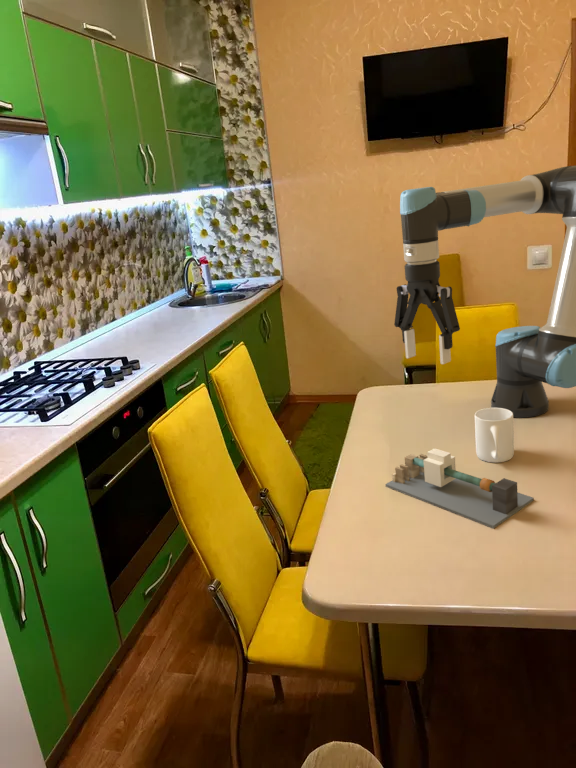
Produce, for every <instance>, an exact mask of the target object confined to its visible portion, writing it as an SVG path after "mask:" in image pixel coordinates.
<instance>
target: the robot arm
mask: <svg viewBox="0 0 576 768" xmlns="http://www.w3.org/2000/svg"><path fill="white" fill-rule="evenodd" d="M399 197H400V198H399V199H400V201H399V214H400V224H401V234H402V235H401V236H402V245H403V246H402V248H403V259H404V262H405V263H406V264H405V265H404V277H405V280H406V281H407V284H402V285H399V286H397V287H396V295H397V299H396V305H395V306H396V307H395V317H394V327H396V328H399V329H400V330H401V334H402V342H403V344H404V350H405V358H406V359H410V358H414V357H416V356H417V354H416V353H417V352H416V337H415V335H416V334H415V329H414V328H413V327H414V326H413V322H414V320H415V317H416V315H417V311H418V309H419V306H420V305H426V307H427V308H428V309H430V312H431V314H432V315H433V318H434V320H435V322H436V325H437V326H438V329H439V330H440V333H441V334H439V335H438V339H439V340H438V342H439V357H440V358H439V361H440V364H441V365H445V364H447V363H450V362H451V361H452V356H451V349H452V348H453V345H454V344H453V334H454V333H457V332H459V331H460V329H461V327H460V324H459V320H458V319H459V318H458V315H457V312H456V307H455V304H454V299H453V288H452V286H449V285H448V286H447V287H445V286H441V284H440V281H439V280H440V277H441V269H440V266H441V265H440V261H438V259H439V258H440V247H439V246H440V245H439V232H440V231H443V230H444V231H445V230H450V229H455V228H463V227H470V226H473V225H477V224H479V223H481V222H482V221H483V219H484V218H488V217H489V218H490V217H495V216H502V215H508V214H513V213H515V214H516V213H520V212H521V213H523V214H525V215H533V214H556V215H562V216H561V217H562V218H561V220H562V222H563V224H564V225H565V226H566V230H565V235H564V240H563V245H562V249H561V254H560V257H559V258H560V259H559V263H558V269H557V271H556V272H557V274H556V278H555V282H554V287H553V292H552V297H551V302H550V306H549V310H548V315H547V321H546V323H545V324H544V325H543V326H538V325H523V326H515V327H510V328H505V329H502V330H501V331H498V333H497V334H496V337H495V346H494V347H495V359H496V360H495V361H496V362H495V363H496V364H495V366H496V384H495V388H494V391H493V393H492V397H491V400H490V406H491V407H490V408H504V409H507V410H510V411H511V412H512V413H513V418H517V419H518V418H521V419H522V418H532V417H537V416H540V415H544V414H545V413H547V412H548V411H549V398H548V395H547V393H546V392H547V391H546V389H545V387H544V385H543V383H544V384H547V385H550V386H551V387H557V388H563V389H570V388H571V389H572V388H575V387H576V165H568V166H561V167H558V168H554V169H550V170H548V171H543V172H540V173H535V174H534V173H533V174H528V175H525V176H523V177H522V178H521V179H520V180H516V181H509V182H502V183H495V184H488V185H482V186H481V185H480V186H474V187H467V188H460V189H452V190H447V191H445V190H444V191H440V192H436V188H435V187H433V186H425V187H418V188H417V187H416V188H410V189H406V190H403V191H402V192H401V193H400V196H399Z"/></svg>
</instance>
